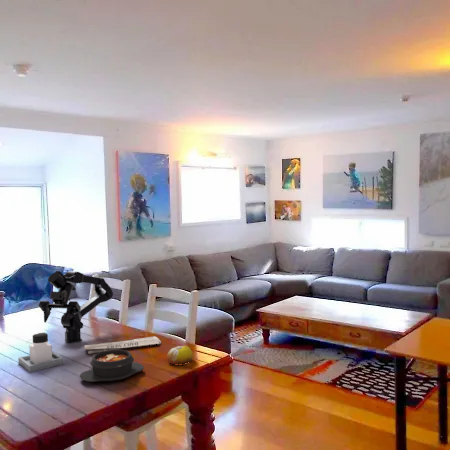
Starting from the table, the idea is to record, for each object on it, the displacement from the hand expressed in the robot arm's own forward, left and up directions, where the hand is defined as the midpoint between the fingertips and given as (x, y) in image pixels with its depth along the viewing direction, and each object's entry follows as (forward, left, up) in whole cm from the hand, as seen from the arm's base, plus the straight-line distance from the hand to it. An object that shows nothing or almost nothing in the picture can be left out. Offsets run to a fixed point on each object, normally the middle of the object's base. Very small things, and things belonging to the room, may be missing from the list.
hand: (54, 322), depth 217 cm
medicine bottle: (+11, +12, -13) cm, 21 cm away
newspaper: (-26, +17, -14) cm, 34 cm away
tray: (+11, +12, -14) cm, 21 cm away
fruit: (-34, +51, -14) cm, 63 cm away
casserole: (-5, +46, -14) cm, 48 cm away
